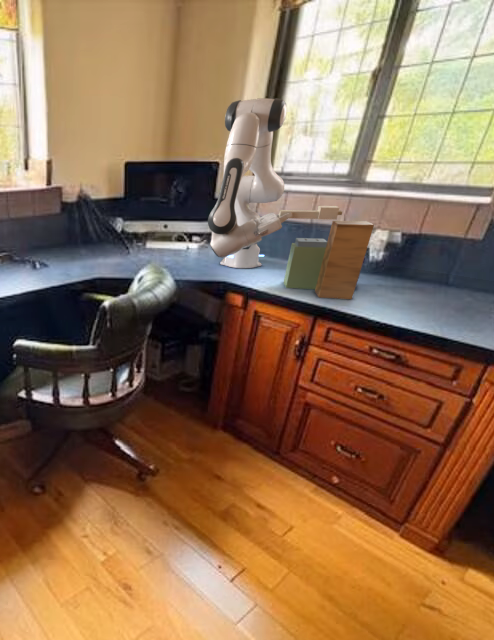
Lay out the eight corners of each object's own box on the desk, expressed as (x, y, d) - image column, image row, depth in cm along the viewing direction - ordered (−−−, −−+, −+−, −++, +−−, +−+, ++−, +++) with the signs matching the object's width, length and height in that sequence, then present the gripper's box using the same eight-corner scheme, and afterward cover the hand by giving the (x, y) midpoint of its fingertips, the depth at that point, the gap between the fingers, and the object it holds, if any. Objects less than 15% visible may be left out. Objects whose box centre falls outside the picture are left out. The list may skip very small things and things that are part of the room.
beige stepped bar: (278, 216, 160) (280, 205, 158) (338, 217, 155) (341, 206, 153) (279, 218, 156) (282, 207, 154) (341, 219, 151) (344, 207, 149)
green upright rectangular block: (283, 282, 175) (293, 237, 166) (315, 284, 172) (326, 238, 163) (286, 287, 169) (296, 241, 160) (318, 289, 165) (331, 242, 157)
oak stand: (314, 291, 163) (332, 220, 151) (346, 293, 161) (367, 221, 148) (318, 297, 157) (337, 224, 144) (351, 299, 154) (374, 224, 141)
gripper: (252, 228, 153) (291, 208, 147) (248, 220, 170) (284, 202, 164) (258, 244, 155) (298, 225, 149) (254, 234, 172) (290, 217, 166)
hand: (290, 213), depth 157 cm, fingers closed on beige stepped bar, 3 cm apart
